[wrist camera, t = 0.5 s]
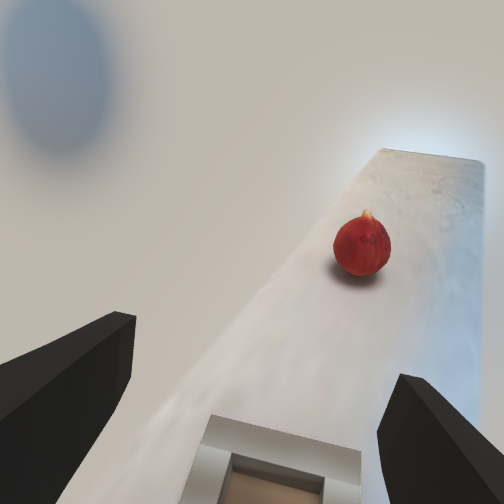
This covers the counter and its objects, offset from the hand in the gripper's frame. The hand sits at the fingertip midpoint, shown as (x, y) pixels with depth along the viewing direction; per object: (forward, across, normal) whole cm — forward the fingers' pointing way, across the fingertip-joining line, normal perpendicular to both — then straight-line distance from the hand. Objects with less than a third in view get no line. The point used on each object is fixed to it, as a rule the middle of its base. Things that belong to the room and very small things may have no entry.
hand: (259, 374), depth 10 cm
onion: (+31, -10, +8) cm, 34 cm away
